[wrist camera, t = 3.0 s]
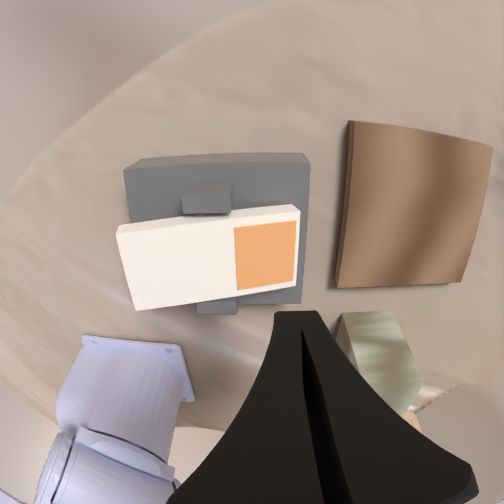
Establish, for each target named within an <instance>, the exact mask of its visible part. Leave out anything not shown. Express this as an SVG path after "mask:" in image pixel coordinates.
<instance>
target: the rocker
mask: <svg viewBox="0 0 504 504" xmlns="http://www.w3.org/2000/svg"><path fill="white" fill-rule="evenodd" d="M299 229H300V210H298V209H297V208H296V207H295V206H294V205H293V204H287V205H276V206H266V207H256V208H247V209H238V210H231V213H204V214H196V215H188V216H181V217H173V218H166V219H159V220H152V221H145V222H138V223H132V224H125V225H119V227H118V230H117V233H116V238H117V242H118V247H119V251H120V255H121V259H122V263H123V267H124V271H125V275H126V279H127V282H128V286H129V289H130V293H131V296H132V300H133V303H134V307H135V310H136V311H139V310H147V309H154V308H161V307H169V306H176V305H183V304H190V303H196V302H203V301H209V300H216V299H222V298H228V297H235V296H241V295H247V294H253V293H258V292H264V291H270V290H276V289H281V288H287V287H292V286H296V276H297V262H298V246H299Z"/></svg>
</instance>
